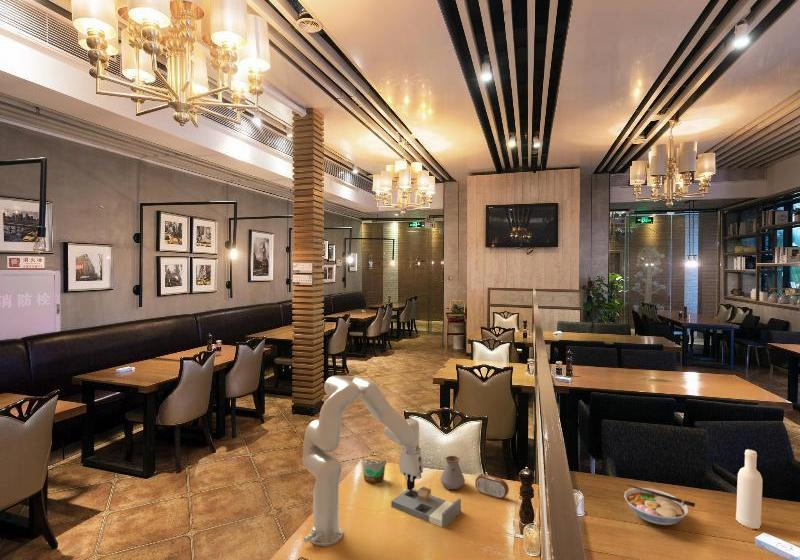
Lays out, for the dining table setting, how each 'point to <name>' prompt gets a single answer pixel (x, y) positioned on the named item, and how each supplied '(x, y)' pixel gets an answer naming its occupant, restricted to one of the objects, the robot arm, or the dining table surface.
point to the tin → (492, 486)
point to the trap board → (427, 507)
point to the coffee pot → (452, 474)
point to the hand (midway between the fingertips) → (410, 488)
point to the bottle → (749, 492)
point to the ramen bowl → (656, 505)
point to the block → (424, 494)
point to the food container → (373, 470)
